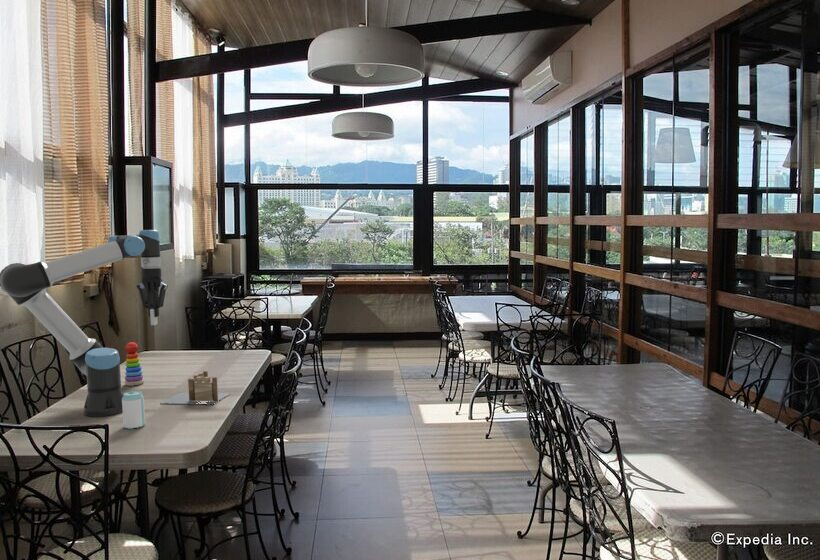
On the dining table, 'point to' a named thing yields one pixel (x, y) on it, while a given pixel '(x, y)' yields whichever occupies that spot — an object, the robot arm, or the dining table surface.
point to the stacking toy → (133, 366)
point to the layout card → (184, 399)
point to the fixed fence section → (203, 389)
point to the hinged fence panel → (201, 375)
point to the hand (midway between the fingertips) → (154, 324)
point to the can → (133, 410)
